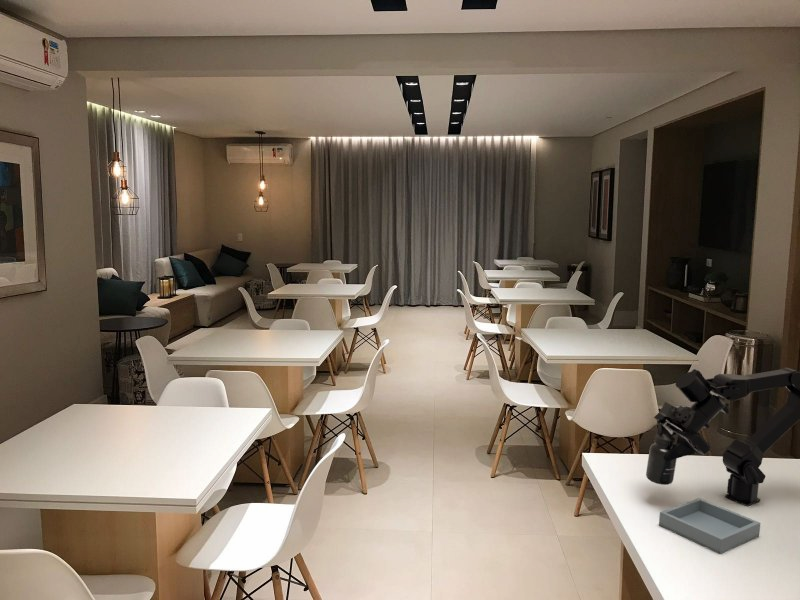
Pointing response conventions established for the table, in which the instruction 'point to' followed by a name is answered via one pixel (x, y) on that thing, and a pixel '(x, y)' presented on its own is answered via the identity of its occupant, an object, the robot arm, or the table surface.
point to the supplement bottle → (661, 460)
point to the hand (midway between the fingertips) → (657, 455)
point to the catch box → (709, 525)
